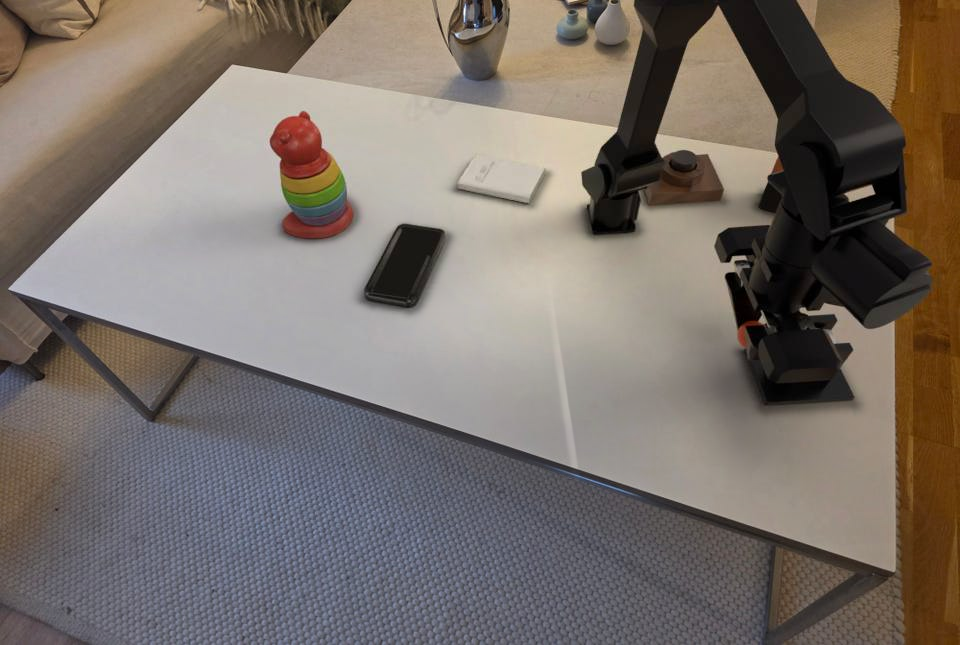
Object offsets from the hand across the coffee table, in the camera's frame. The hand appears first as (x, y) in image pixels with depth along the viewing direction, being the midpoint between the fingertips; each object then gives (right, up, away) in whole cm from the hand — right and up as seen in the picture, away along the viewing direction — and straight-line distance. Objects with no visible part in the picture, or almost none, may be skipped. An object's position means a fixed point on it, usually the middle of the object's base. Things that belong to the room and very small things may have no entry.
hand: (748, 346), depth 65 cm
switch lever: (+3, 0, 0) cm, 3 cm away
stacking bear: (-55, +19, +29) cm, 65 cm away
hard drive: (-26, +26, +32) cm, 49 cm away
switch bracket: (+8, -4, +5) cm, 10 cm away
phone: (-41, +11, +21) cm, 47 cm away
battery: (+16, +20, +24) cm, 35 cm away
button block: (+2, +25, +28) cm, 38 cm away
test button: (+2, +27, +26) cm, 37 cm away
